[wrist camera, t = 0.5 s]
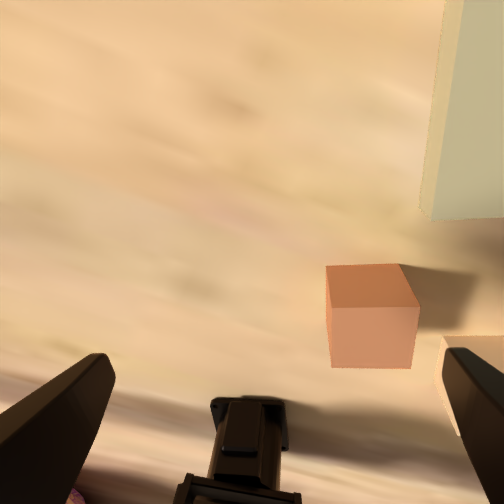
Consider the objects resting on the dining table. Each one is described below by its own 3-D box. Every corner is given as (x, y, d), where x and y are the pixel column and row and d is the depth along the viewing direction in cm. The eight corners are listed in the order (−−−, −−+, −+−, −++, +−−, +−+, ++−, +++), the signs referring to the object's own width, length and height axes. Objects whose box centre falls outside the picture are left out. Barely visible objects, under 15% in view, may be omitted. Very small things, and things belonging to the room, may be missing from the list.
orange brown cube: (391, 318, 23) (410, 368, 19) (326, 319, 24) (331, 367, 20) (397, 263, 21) (420, 306, 17) (325, 265, 22) (331, 307, 18)
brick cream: (497, 381, 25) (535, 439, 21) (433, 379, 26) (457, 435, 22) (513, 334, 23) (558, 390, 19) (442, 334, 23) (471, 388, 20)
